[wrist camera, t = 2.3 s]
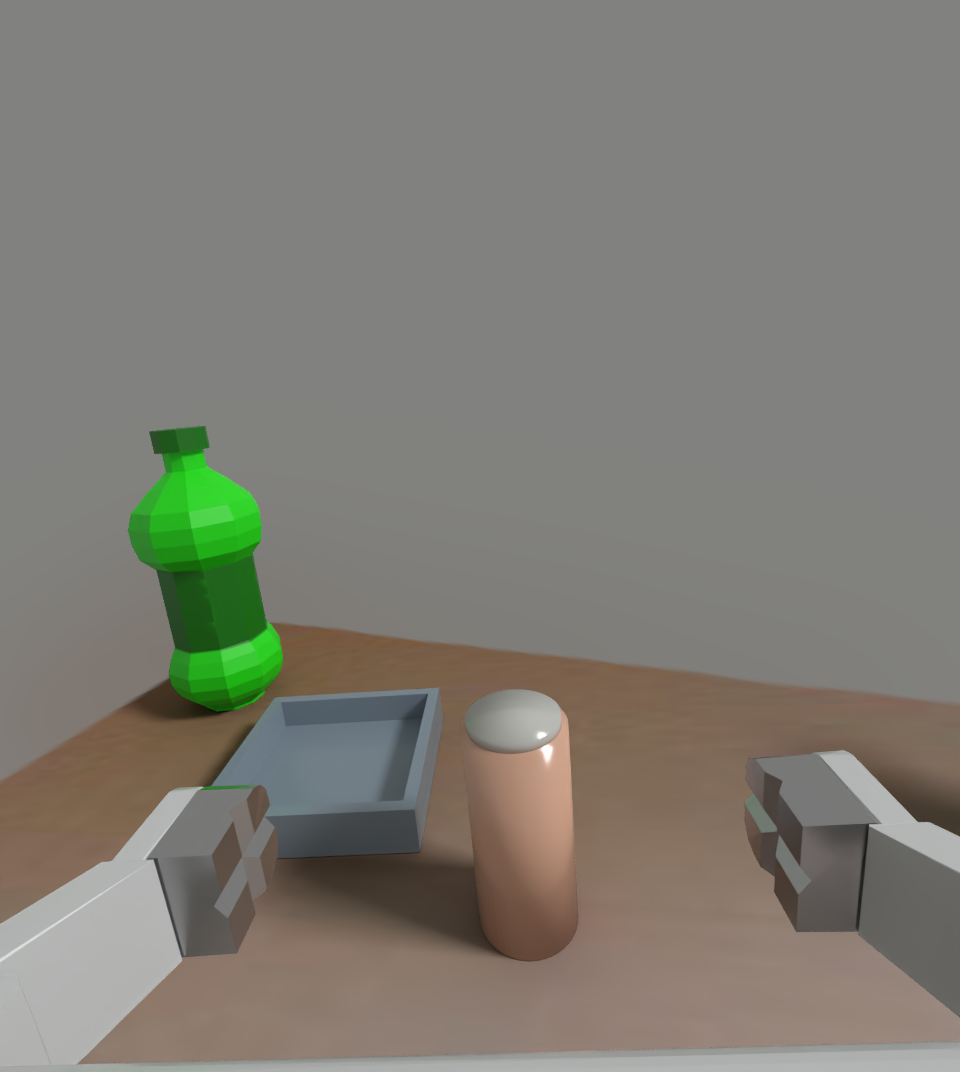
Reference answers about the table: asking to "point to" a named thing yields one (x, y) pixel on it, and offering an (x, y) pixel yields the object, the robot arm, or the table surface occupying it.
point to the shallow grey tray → (344, 770)
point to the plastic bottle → (207, 575)
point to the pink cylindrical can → (521, 822)
